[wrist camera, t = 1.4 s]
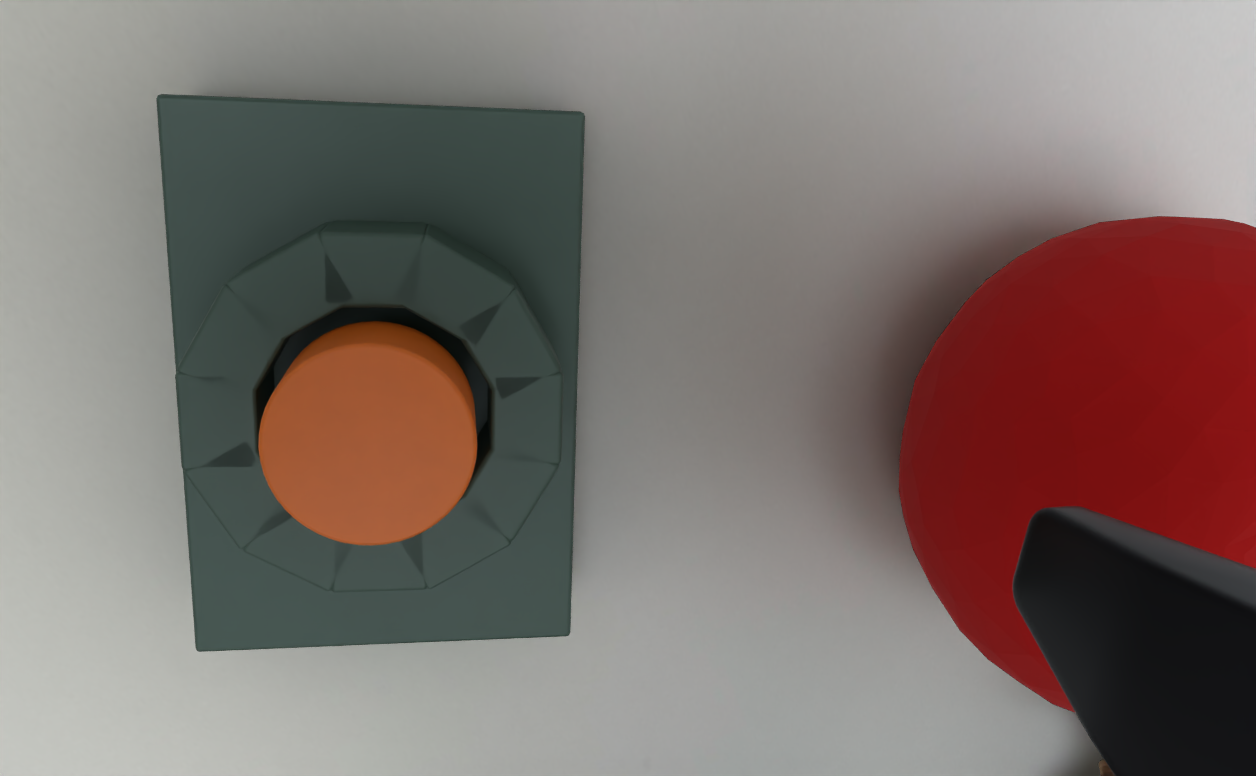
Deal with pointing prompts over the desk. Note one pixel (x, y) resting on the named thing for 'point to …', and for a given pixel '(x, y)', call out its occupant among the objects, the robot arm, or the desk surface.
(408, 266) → the control block
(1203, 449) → the fruit
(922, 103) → the desk surface
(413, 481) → the button
